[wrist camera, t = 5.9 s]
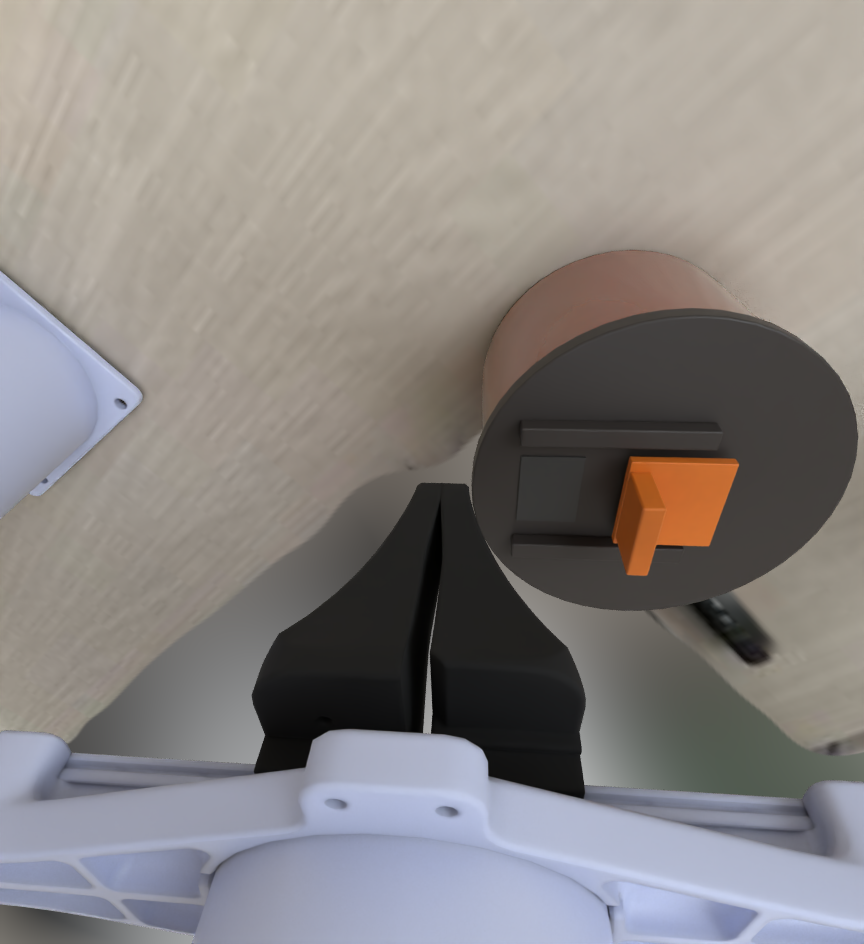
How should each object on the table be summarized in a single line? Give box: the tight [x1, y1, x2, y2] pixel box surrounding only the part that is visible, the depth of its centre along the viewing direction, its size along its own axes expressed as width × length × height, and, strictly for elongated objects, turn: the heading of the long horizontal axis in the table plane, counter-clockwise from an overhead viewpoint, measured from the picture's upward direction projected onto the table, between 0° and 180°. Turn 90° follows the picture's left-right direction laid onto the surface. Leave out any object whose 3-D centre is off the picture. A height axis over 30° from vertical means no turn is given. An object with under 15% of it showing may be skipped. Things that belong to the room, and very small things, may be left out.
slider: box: [612, 456, 739, 576], centre depth 15 cm, size 3×3×2 cm
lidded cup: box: [472, 250, 858, 611], centre depth 19 cm, size 11×11×8 cm
